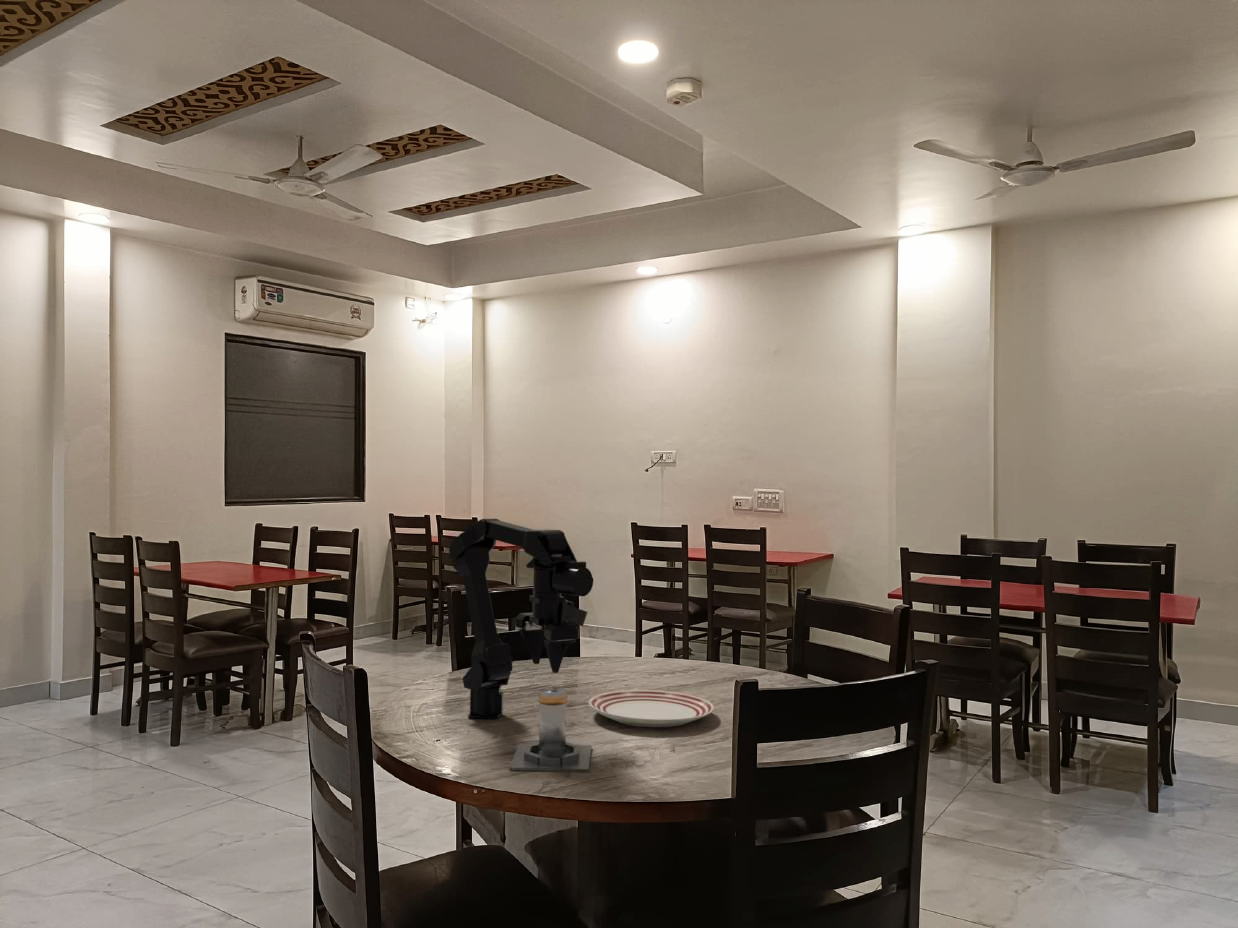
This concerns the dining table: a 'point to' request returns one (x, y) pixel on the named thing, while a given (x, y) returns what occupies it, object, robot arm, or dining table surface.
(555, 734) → the grey cylindrical piece
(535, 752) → the flange
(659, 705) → the dinner plate
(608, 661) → the dining table surface
